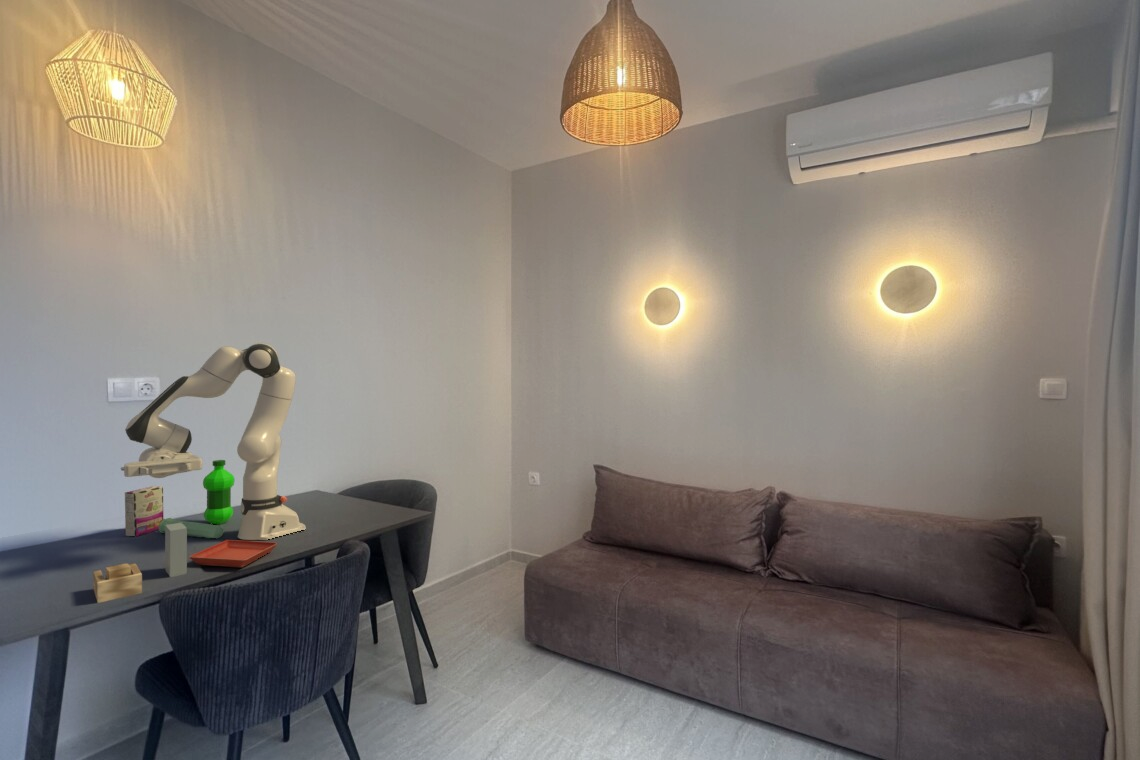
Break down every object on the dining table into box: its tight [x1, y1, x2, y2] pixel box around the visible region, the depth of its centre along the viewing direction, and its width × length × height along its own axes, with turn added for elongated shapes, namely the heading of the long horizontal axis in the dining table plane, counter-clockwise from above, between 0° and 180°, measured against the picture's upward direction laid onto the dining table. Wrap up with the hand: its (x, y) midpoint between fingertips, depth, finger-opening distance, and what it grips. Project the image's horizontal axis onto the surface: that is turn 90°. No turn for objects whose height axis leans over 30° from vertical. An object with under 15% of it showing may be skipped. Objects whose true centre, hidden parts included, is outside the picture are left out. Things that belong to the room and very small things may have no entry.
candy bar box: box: [124, 485, 164, 538], centre depth 200 cm, size 11×5×16 cm, turn 168°
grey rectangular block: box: [164, 523, 188, 578], centre depth 159 cm, size 4×8×14 cm, turn 46°
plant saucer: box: [188, 539, 278, 568], centre depth 172 cm, size 18×18×3 cm
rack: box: [93, 563, 143, 604], centre depth 145 cm, size 9×12×6 cm
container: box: [158, 517, 224, 539], centre depth 197 cm, size 6×6×25 cm
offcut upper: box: [105, 563, 131, 580], centre depth 144 cm, size 4×4×3 cm
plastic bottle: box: [202, 459, 235, 525], centre depth 213 cm, size 10×10×25 cm
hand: (168, 470), depth 167 cm, fingers open, 8 cm apart
